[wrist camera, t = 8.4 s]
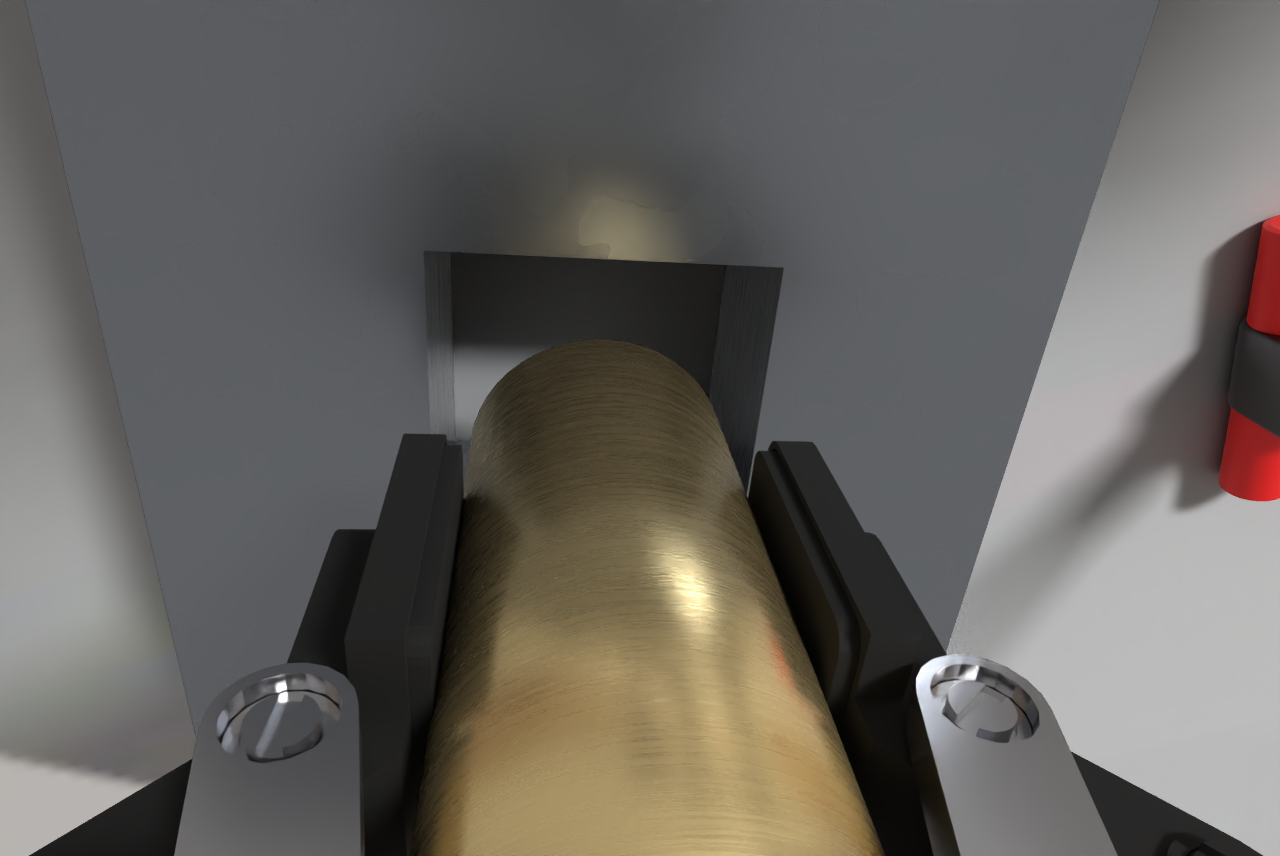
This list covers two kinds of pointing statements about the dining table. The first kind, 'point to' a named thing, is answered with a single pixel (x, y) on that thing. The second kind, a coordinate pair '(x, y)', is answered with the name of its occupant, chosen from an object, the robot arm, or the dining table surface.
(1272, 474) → the tow hook
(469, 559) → the brass pin
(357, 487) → the grey block with hole
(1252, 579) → the dining table surface
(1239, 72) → the dining table surface
